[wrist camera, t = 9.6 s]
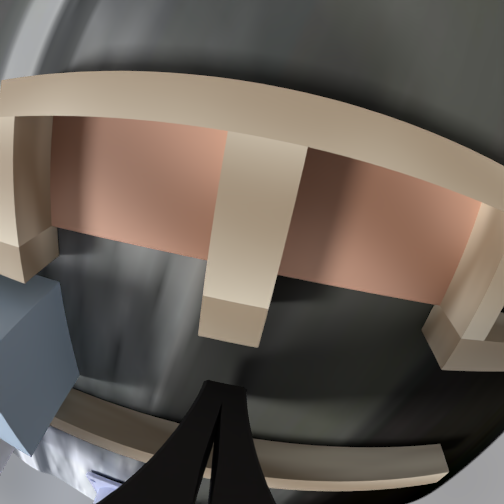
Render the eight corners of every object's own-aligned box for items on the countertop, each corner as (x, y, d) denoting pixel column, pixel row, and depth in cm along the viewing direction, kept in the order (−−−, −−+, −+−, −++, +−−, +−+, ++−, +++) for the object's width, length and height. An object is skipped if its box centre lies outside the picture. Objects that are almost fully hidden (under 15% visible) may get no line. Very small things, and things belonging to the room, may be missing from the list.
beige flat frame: (428, 454, 13) (439, 496, 10) (-2, 363, 13) (-29, 395, 10) (577, 217, 7) (625, 248, 4) (-45, 94, 7) (-99, 104, 4)
